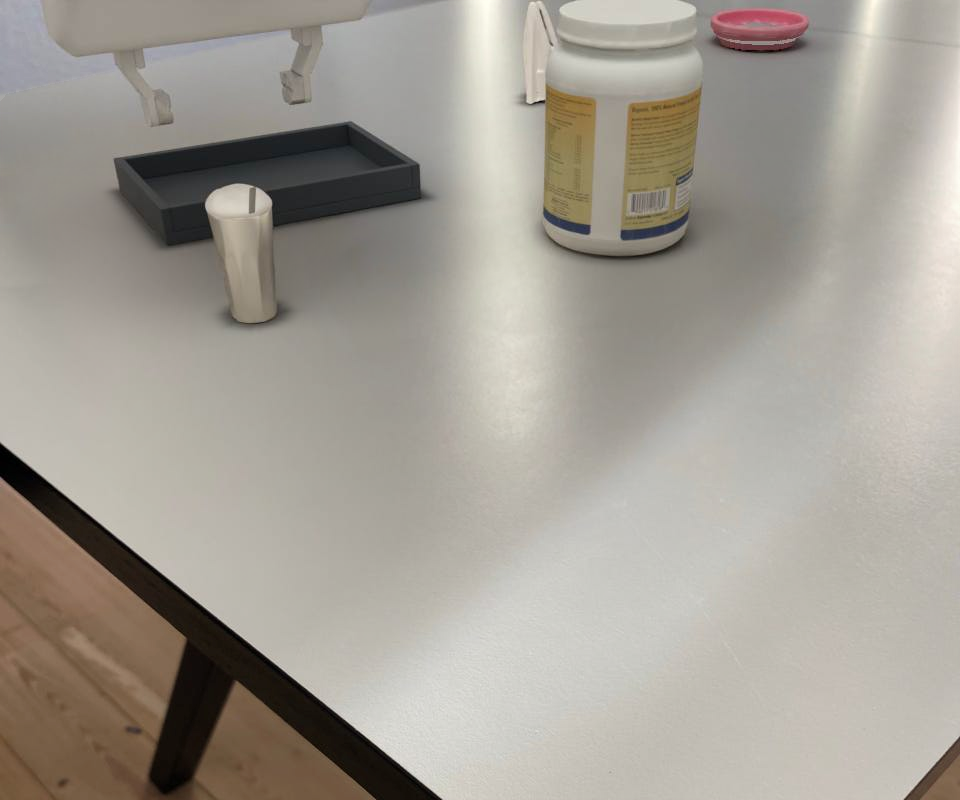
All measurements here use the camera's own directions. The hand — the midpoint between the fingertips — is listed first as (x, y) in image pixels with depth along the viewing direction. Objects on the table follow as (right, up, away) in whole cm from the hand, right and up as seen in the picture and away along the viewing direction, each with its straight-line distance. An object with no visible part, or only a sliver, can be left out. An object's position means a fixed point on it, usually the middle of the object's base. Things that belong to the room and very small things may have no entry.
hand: (230, 112), depth 73 cm
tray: (-3, +6, +30) cm, 30 cm away
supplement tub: (+28, -1, +21) cm, 35 cm away
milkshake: (0, -11, +9) cm, 14 cm away
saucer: (+53, +43, +73) cm, 100 cm away
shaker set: (+27, +28, +55) cm, 67 cm away
